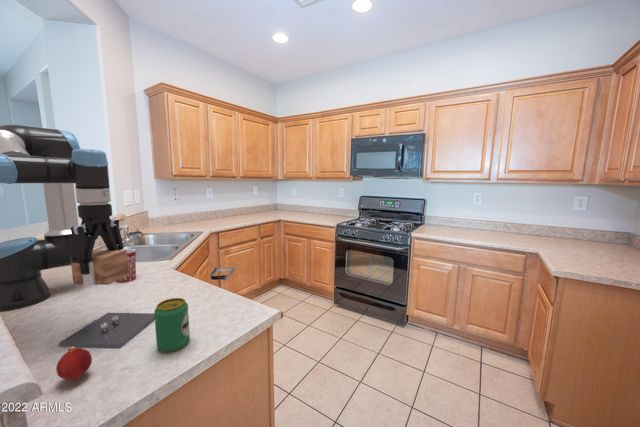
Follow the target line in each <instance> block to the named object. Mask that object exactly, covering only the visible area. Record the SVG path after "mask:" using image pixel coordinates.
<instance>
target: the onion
mask: <svg viewBox="0 0 640 427" xmlns="http://www.w3.org/2000/svg"><path fill="white" fill-rule="evenodd" d="M67 350H68V351H67V352H65V353H64V354H63V355H62V356H61V358H60V359H59V360H58V362H57V364H56V367H55V368H56V373H57V376H58V377H59V378H61V379H64V380H72V381H74V380H73V379H76V380H78V379H80V378H81V377H82V376H83V375H85V373H86V372H88V370H90V369H89V368H90V367H91V365H92V362H93V357H92V355H91V352H90V351H89V350H87V349H85V348H83V347H69V348H68V349H67ZM77 378H78V379H77Z"/></svg>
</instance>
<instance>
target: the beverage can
mask: <svg viewBox="0 0 640 427" xmlns="http://www.w3.org/2000/svg"><path fill="white" fill-rule="evenodd" d="M153 313H154V315H155V320H154V325H155V340H156V347H157V348H158V350H159V351H160V352H161V353H166V354H168V353H173V352H177V351H179V350H181V349H182V348H185V346H187V344H188V343H189V340H190V338H191V335H190V320H189V318H190V317H189V305H188V303H187V301H186V299H185V298H183V297H182V298H181V297H174V298H173V297H172V298H167V299H165V300H162V301H160V302H159V303H158V304H156V308H155V309H154V311H153Z"/></svg>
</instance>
